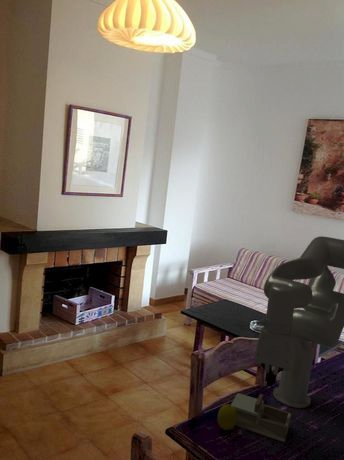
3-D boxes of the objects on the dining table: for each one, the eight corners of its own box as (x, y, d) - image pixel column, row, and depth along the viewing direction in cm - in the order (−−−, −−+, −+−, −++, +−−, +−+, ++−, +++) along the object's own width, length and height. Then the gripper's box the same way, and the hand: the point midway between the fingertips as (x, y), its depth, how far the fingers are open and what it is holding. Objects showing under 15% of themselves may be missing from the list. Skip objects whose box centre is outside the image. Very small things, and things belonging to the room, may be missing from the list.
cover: (237, 395, 133) (238, 385, 132) (263, 403, 129) (264, 393, 129) (230, 407, 125) (231, 397, 124) (257, 416, 121) (259, 406, 121)
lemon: (234, 437, 118) (238, 411, 117) (215, 433, 119) (218, 407, 118) (235, 427, 123) (239, 401, 122) (216, 422, 124) (220, 397, 123)
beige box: (237, 409, 133) (239, 396, 132) (288, 426, 127) (291, 412, 126) (230, 423, 125) (232, 409, 124) (284, 442, 119) (287, 427, 118)
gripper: (250, 324, 121) (242, 382, 124) (302, 337, 116) (293, 397, 118) (255, 317, 128) (248, 372, 131) (305, 328, 122) (296, 386, 125)
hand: (269, 384), depth 125 cm, fingers closed
